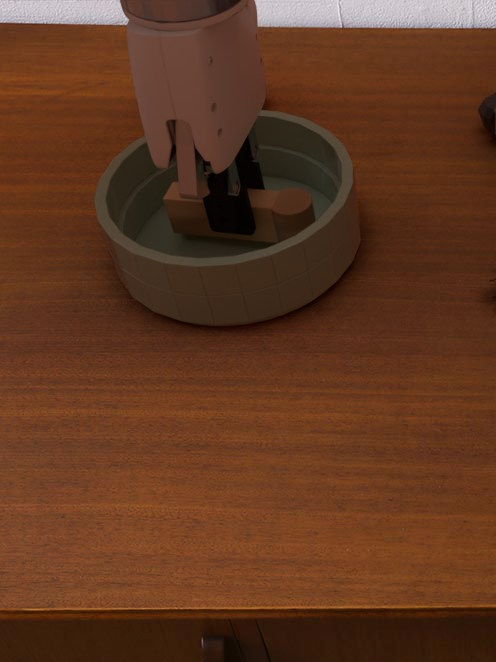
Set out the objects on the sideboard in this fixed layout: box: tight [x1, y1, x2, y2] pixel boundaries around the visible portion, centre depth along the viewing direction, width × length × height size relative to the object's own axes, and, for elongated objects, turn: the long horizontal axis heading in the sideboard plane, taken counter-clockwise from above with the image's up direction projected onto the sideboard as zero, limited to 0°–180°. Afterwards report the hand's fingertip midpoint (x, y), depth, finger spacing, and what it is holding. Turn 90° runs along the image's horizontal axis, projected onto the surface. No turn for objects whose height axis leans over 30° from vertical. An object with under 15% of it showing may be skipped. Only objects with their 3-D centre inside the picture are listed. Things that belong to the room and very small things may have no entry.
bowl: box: [93, 109, 362, 327], centre depth 72 cm, size 18×18×6 cm
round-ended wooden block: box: [163, 182, 316, 243], centre depth 72 cm, size 10×3×3 cm, turn 82°
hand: (240, 217), depth 72 cm, fingers closed on round-ended wooden block, 2 cm apart
